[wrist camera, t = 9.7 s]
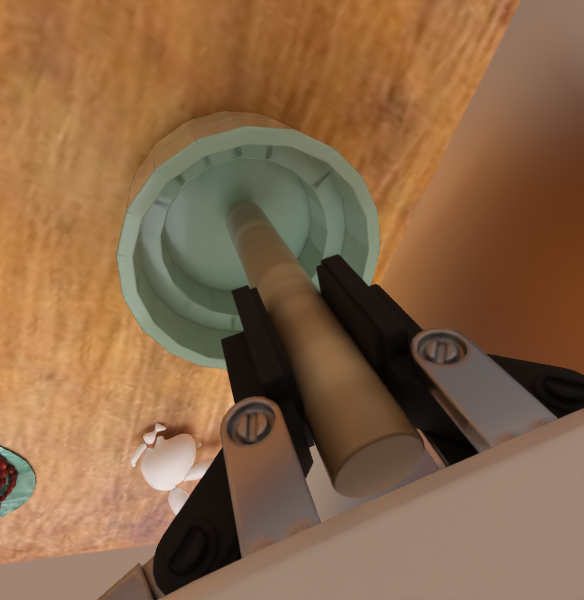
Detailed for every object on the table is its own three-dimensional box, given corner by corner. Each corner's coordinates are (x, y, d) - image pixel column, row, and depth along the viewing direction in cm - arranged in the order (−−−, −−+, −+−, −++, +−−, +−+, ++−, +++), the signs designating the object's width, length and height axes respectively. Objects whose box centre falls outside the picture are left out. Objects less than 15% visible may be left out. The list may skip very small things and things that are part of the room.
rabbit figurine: (176, 401, 26) (257, 471, 27) (170, 400, 30) (242, 462, 31) (109, 475, 24) (201, 550, 25) (111, 464, 27) (192, 530, 28)
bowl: (84, 146, 17) (53, 180, 12) (313, 83, 18) (370, 90, 13) (177, 330, 23) (182, 400, 18) (341, 273, 25) (386, 324, 20)
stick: (219, 207, 18) (325, 460, 6) (258, 195, 18) (426, 417, 7) (231, 244, 19) (339, 512, 8) (268, 232, 19) (425, 474, 8)
